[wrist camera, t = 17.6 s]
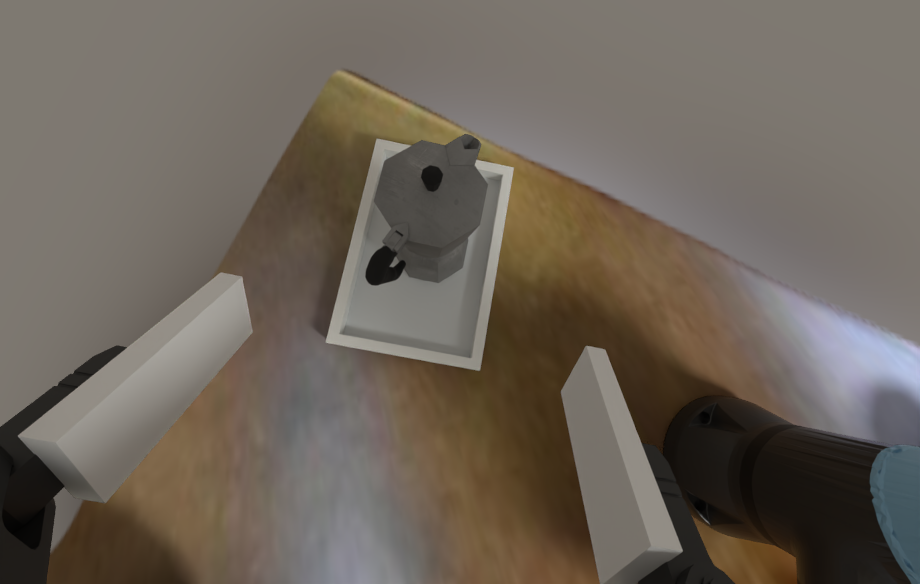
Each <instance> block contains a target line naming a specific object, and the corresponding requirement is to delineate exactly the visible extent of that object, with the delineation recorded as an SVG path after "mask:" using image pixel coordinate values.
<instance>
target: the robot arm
mask: <svg viewBox="0 0 920 584" xmlns="http://www.w3.org/2000/svg"><path fill="white" fill-rule="evenodd" d="M252 332H253V331H252V326H251V321H250V315H249V310H248V305H247V300H246V295H245V290H244V285H243V279H242V277H241V276H236V275H231V274H226V273H219V274H218V275H217V276H216V277H215V278H213V279H212V280H211V281H210V282H208V283H207V284H206V285H205V286H203V287H202V288H201V289H200V290H198V291H197V292H196V293H195V294H194V295H192V296H191V297H190V298H188V299H187V300H186V301H185V302H183V303H182V304H181V305H180V306H178V307H177V308H176V309H175V310H174V311H172V312H171V313H170V314H169V315H167V316H166V317H165V318H164V319H162V320H161V321H160V322H159V323H157V324H156V325H155V326H154V327H152V328H151V329H150V330H149V331H147V332H146V333H145V334H144V335H143V336H141V337H140V338H139V339H138V340H137V341H135V342H134V343H132V344H131V345H130V346H129V347H122V346H115V347H112V348H110V349H108V350H106V351H104V352H102V353H100V354H98V355H95V356H94V357H92V358H91V359H89V360H88V361H87V362H85V363H84V364H83V365H81V366H80V367H79V368H78V369H76V370H75V371H74V373H73V374H70V375H68V376H67V377H66V378H64V379H63V380H62V381H60V382H59V384H58V386H54V387H52V388H51V389H50V390H48V391H47V392H46V393H45V394H43V395H42V396H41V397H39V398H38V399H37V400H35V401H34V402H33V403H31V404H30V405H29V406H27V407H26V408H25V409H23V410H22V411H21V412H19V413H18V414H17V415H15V416H14V417H13V418H12V419H10V420H9V421H8V422H6V423H5V424H4V425H2V426H1V427H0V584H46V580H47V572H48V564H49V556H50V548H51V541H52V533H53V525H54V517H55V509H56V506H55V501H54V499H53V497H54V496H55V495H56V494H57V493H58V492H59V491H60V490H61V489H62V488H63V487H65V488H66V489H67V490H68V492H69V493H70V494H71V495H72V496H73V497H74V498H78V499H83V500H89V501H95V502H101V503H106V502H107V501H108V500H109V499H110V497H111V496H112V495H113V494H114V493H115V492H116V490H117V489H118V488H119V487H120V486H121V485H122V484H123V482H124V481H125V480H126V479H127V478H128V477H129V475H130V474H131V473H132V472H133V471H134V470H135V468H136V467H137V466H138V465H139V464H140V463H141V461H142V460H143V459H144V458H145V457H146V456H147V454H148V453H149V452H150V451H151V450H152V449H153V447H154V446H155V445H156V444H157V443H158V442H159V441H160V439H161V438H162V437H163V436H164V435H165V434H166V432H167V431H168V430H169V429H170V428H171V427H172V425H173V424H174V423H175V422H176V421H177V420H178V418H179V417H180V416H181V415H182V414H183V413H184V411H185V410H186V409H187V408H188V407H189V406H190V405H191V403H192V402H193V401H194V400H195V399H196V398H197V396H198V395H199V394H200V393H201V392H202V391H203V389H204V388H205V387H206V386H207V385H208V384H209V382H210V381H211V380H212V379H213V378H214V377H215V375H216V374H217V373H218V372H219V371H220V370H221V368H222V367H223V366H224V365H225V364H226V363H227V362H228V360H229V359H230V358H231V357H232V356H233V355H234V353H235V352H236V351H237V350H238V349H239V348H240V346H241V345H242V344H243V343H244V342H245V341H246V339H247V338H248V337H249V336H250V335H251V334H252ZM561 396H562V400H563V405H564V410H565V415H566V420H567V425H568V430H569V435H570V439H571V444H572V449H573V454H574V459H575V464H576V469H577V474H578V478H579V483H580V488H581V493H582V498H583V503H584V508H585V512H586V517H587V522H588V527H589V532H590V537H591V542H592V547H593V551H594V556H595V561H596V566H597V571H598V576H599V581H600V584H637V583H638V584H735V583H734V582H733V581H732V580H731V579H730V578H729V577H728V576H727V575H726V574H725V573H724V572H723V571H721V570H720V569H718V568H717V567H715V566H714V564H713V563H712V561H711V559H710V557H709V555H708V553H707V550H706V548H705V546H704V544H703V541H702V539H701V537H700V534H699V532H698V530H697V527H696V525H695V523H694V521H693V518H692V516H693V517H695V518H696V519H698V520H699V521H701V522H702V523H704V524H706V525H707V526H709V527H710V528H712V529H714V530H716V531H718V532H720V533H722V534H725V535H728V536H731V537H735V538H740V539H745V540H750V541H755V542H760V543H765V544H770V545H775V546H777V547H779V548H781V549H782V550H784V551H786V552H788V553H789V554H791V555H793V556H794V557H796V564H797V584H920V447H917V446H910V445H889V444H884V443H879V442H875V441H870V440H865V439H860V438H855V437H851V436H846V435H841V434H836V433H831V432H827V431H822V430H817V429H812V428H807V427H802V426H797V425H793V424H791V423H790V422H788V421H786V420H784V419H782V418H780V417H778V416H777V415H775V414H773V413H771V412H769V411H767V410H765V409H763V408H762V407H760V406H758V405H756V404H754V403H751V402H748V401H745V400H742V399H737V398H731V397H724V396H708V397H703V398H700V399H697V400H695V401H693V402H691V403H689V404H688V405H686V406H685V407H684V408H683V409H682V410H681V411H680V412H679V413H678V414H677V415H676V417H675V418H674V419H673V421H672V423H671V425H670V427H669V429H668V432H667V435H666V438H665V443H664V456H663V455H662V454H661V452H660V451H659V450H658V448H657V447H656V446H654V445H649V444H643V443H641V441H640V438H639V436H638V433H637V431H636V428H635V425H634V423H633V420H632V418H631V415H630V412H629V410H628V407H627V405H626V402H625V400H624V397H623V394H622V392H621V389H620V387H619V384H618V381H617V379H616V376H615V374H614V371H613V368H612V366H611V363H610V361H609V358H608V355H607V353H606V350H605V349H601V348H596V347H591V346H586V347H585V348H584V350H583V352H582V354H581V356H580V358H579V359H578V361H577V363H576V365H575V367H574V368H573V370H572V372H571V374H570V376H569V377H568V379H567V381H566V383H565V385H564V387H563V388H562V390H561ZM691 515H692V516H691Z"/></svg>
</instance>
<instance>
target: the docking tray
mask: <svg viewBox="0 0 920 584" xmlns="http://www.w3.org/2000/svg"><path fill="white" fill-rule="evenodd" d="M408 147H410V145H405V144H401V143H396V142H391V141H387V140H382V139H377V140H376V144H375V147H374V151H373V155H372V159H371V163H370V167H369V171H368V175H367V179H366V183H365V187H364V191H363V195H362V199H361V203H360V207H359V211H358V215H357V219H356V223H355V227H354V231H353V235H352V239H351V243H350V247H349V251H348V255H347V259H346V263H345V267H344V271H343V275H342V279H341V283H340V287H339V291H338V295H337V299H336V303H335V307H334V311H333V315H332V319H331V323H330V327H329V331H328V335H327V339H326V343H330V344H335V345H341V346H346V347H352V348H357V349H363V350H368V351H374V352H379V353H385V354H390V355H396V356H401V357H406V358H412V359H417V360H423V361H428V362H434V363H439V364H445V365H450V366H456V367H461V368H467V369H472V370H477V371H480V368H481V362H482V356H483V350H484V344H485V338H486V332H487V326H488V320H489V314H490V308H491V302H492V296H493V290H494V284H495V278H496V272H497V266H498V260H499V254H500V248H501V242H502V236H503V230H504V224H505V218H506V212H507V206H508V200H509V194H510V188H511V182H512V176H513V170H514V168H513V167H508V166H503V165H499V164H494V163H489V162H485V161H480V160H476V163H475V166H476V168H477V169H478V171H479V172H480V174H481V175H482V176H483V178H484V179H485V181H486V182H487V183H488V188H487V193H486V198H485V203H484V208H483V213H482V218H481V223H480V226H478V228H477V229H476V230H475V231H474V232H473V233H472V234H471V235H470V236H469V237H468V245H467V250H466V255H465V260H464V265H463V268H462V269H460V270H459V271H457V272H455V273H454V274H452V275H451V276H450V277H448V278H446V279H444V280H443V281H441V282H440V283H435V282H430V281H424V280H420V279H416V278H412V277H409V276H408V274H407V273H406V271H405V270H403V272H402V274H401V276H400V277H399V278H398V279H397V280H395V281H392V282H388V283H384V284H381V285H378V286H374V285H371V284H369V283H368V282H367V280H366V278H365V273H366V268H367V266H368V263H369V261H370V258H371V257H372V255H373V254H374V253H375V252H376V251H377V250H378V249H380V248H381V247H383V246H384V245H385V244H383V242H382V240H383V239H384V238H385V236H386V235H387V234H388V233H389V231H390V230H391V227H390V226H389V224H388V223H387V221H386V220H385V218H384V217H383V215H382V214H381V212H380V210H379V209H378V207H377V206H376V204H375V203H374V198H375V194H376V190H377V186H378V182H379V179H380V175H381V171H382V167H383V164H384V161H385V160H386V159H388V158H390V157H392V156H394V155H396V154H397V153H399V152H401V151H403V150H405V149H407V148H408ZM398 263H399V261H398V259H397V257H395V258H394V260H393V262H392V264H391V265H390V266H389V267H394V266H395V265H396V264H398Z"/></svg>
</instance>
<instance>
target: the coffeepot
mask: <svg viewBox="0 0 920 584" xmlns="http://www.w3.org/2000/svg"><path fill="white" fill-rule="evenodd" d="M480 147H481V143H480V141H479V140H478V139H476V138H474V137H473V136H471V135H468V134H464V135H463V136H461V137H458V138H457V139H455V140H453V141H452V142H450V143H448V144H447V145H440V144H436V143H432V142H427V141H423V140H421V141H419V142H417V143H416V144H414V145H412V146H410V147H408V148H407V149H405V150H403V151H401V152H399V153H397V154H396V155H394V156H392V157H390V158H388V159H386V160H385V161H384V164H383V167H382V171H381V175H380V179H379V182H378V186H377V190H376V194H375V198H374V203H375V204H376V206H377V207H378V209H379V210H380V212H381V214H382V215H383V217H384V218H385V220H386V221H387V223H388V224H389V226H390V227H391V230H390V231H389V233H388V234H387V235H386V236H385V238H384V239H383V240H382V242H383V244H385V245H384V246H383V247H381V248H380V249H378V250H377V251H376V252H375V253H374V254H373V255H372V257H371V258H370V261H369V263H368V266H367V268H366V273H365V278H366V280H367V282H368V283H369V284H371V285H374V286H378V285H381V284H384V283H388V282H392V281H395V280H397V279H398V278H399V277H400V276H401V274H402V272H403V270H405V271H406V273H407V274H408V276H409V277H412V278H416V279H420V280H424V281H430V282H435V283H440V282H441V281H443V280H444V279H446V278H448V277H450V276H451V275H452V274H454V273H455V272H457V271H459V270H460V269H462V268H463V265H464V260H465V255H466V250H467V245H468V237H469V236H470V235H471V234H472V233H473V232H474V231H475V230H476V229H477V228H478V226H480V223H481V218H482V213H483V208H484V203H485V198H486V193H487V188H488V183H487V182H486V181H485V179H484V178H483V176H482V175H481V174H480V172H479V171H478V169H477V168H476V166H475V163H476V160H477V156H478V153H479V150H480ZM395 257H397V259H398V261H399V263H398V264H396V265H395V266H394V267H389V266H390V265H391V264H392V262H393V260H394V258H395Z"/></svg>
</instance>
